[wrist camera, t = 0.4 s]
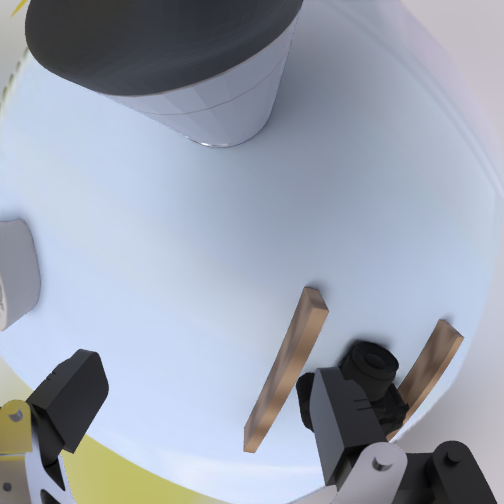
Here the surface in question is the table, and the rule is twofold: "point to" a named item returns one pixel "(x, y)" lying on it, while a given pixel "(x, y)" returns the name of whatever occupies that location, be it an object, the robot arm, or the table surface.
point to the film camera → (365, 385)
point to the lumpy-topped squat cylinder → (17, 272)
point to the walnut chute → (300, 345)
